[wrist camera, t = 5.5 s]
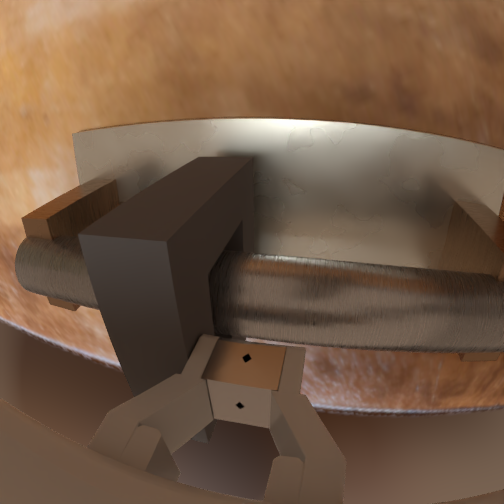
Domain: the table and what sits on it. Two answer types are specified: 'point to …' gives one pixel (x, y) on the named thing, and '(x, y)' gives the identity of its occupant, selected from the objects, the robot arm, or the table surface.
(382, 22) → the table surface
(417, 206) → the rail
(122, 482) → the robot arm
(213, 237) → the collar
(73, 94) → the table surface
